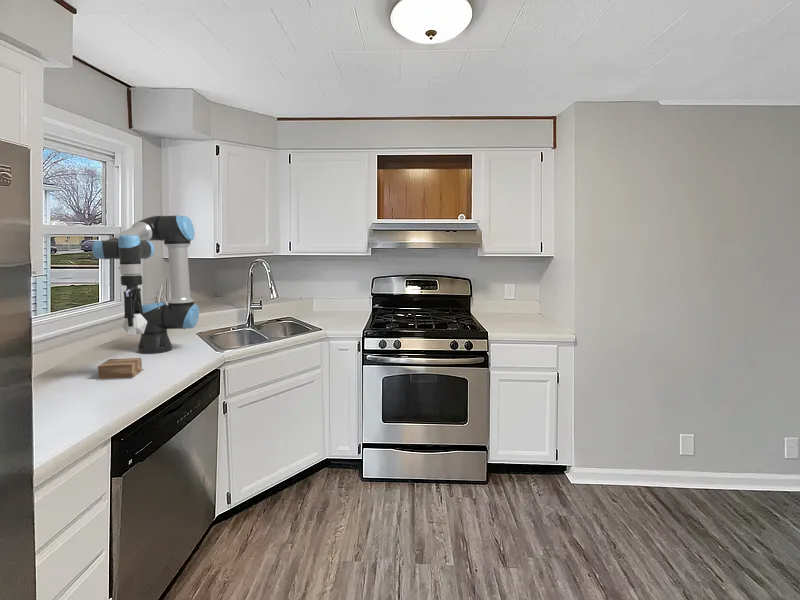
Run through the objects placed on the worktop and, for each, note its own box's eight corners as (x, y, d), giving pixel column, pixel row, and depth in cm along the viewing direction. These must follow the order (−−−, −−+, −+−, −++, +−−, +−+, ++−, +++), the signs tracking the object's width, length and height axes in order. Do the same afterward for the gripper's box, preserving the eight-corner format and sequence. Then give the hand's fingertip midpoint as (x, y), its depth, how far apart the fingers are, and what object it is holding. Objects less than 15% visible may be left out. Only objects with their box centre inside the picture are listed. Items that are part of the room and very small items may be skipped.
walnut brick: (110, 371, 220) (109, 359, 219) (142, 370, 222) (141, 357, 221) (98, 378, 208) (97, 366, 208) (132, 377, 210) (131, 364, 209)
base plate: (111, 373, 222) (110, 370, 222) (144, 371, 224) (144, 368, 224) (95, 383, 206) (95, 380, 206) (132, 381, 208) (131, 378, 208)
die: (146, 332, 222) (129, 314, 220) (156, 324, 217) (139, 305, 215) (131, 343, 215) (113, 324, 213) (140, 335, 211) (123, 316, 209)
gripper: (129, 273, 223) (132, 328, 225) (112, 277, 203) (116, 337, 205) (148, 273, 224) (152, 328, 226) (133, 276, 204) (137, 336, 206)
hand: (135, 332), depth 216 cm, fingers closed on die, 8 cm apart
